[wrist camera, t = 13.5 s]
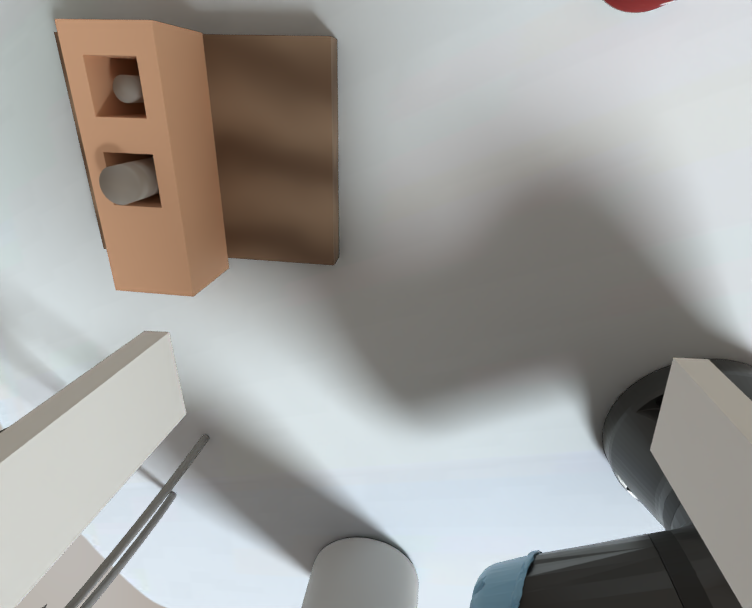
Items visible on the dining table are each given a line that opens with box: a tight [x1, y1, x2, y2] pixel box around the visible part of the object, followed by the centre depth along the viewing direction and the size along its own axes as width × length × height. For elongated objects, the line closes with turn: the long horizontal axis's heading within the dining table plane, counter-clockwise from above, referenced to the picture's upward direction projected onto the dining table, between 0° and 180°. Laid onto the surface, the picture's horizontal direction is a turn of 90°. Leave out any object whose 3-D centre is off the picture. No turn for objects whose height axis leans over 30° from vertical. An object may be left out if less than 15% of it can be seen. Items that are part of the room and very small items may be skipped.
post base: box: [54, 32, 339, 265], centre depth 32 cm, size 16×20×10 cm
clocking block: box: [55, 19, 229, 297], centre depth 33 cm, size 17×6×6 cm, turn 178°
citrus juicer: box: [42, 435, 209, 608], centre depth 38 cm, size 11×10×30 cm
